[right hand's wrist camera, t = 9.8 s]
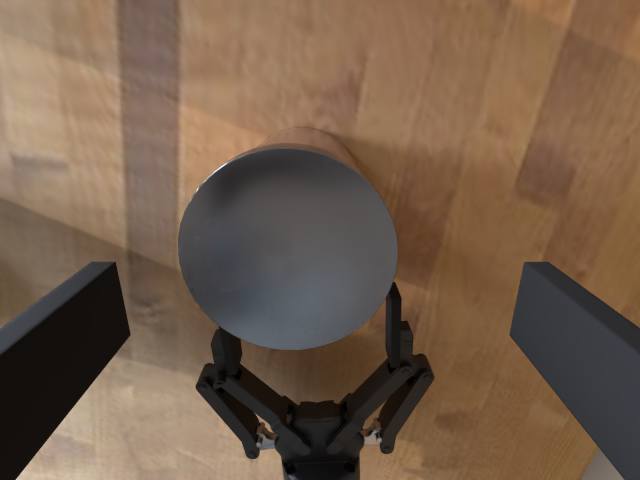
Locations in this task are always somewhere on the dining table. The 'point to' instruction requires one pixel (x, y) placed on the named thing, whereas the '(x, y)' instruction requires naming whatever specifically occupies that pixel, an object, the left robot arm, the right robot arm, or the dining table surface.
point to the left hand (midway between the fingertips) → (308, 293)
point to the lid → (288, 247)
